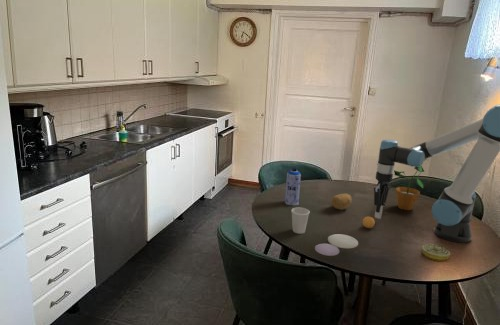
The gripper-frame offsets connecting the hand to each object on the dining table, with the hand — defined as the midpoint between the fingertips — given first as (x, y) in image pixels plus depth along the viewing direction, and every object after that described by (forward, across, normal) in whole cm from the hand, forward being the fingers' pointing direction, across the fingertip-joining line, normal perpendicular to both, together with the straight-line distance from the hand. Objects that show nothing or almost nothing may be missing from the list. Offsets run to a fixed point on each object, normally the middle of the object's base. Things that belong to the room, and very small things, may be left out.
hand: (377, 217), depth 183 cm
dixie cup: (+3, +38, -19) cm, 43 cm away
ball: (0, +10, 0) cm, 10 cm away
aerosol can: (+3, +14, -44) cm, 46 cm away
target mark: (+3, +32, 0) cm, 32 cm away
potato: (+3, -2, -22) cm, 22 cm away
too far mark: (+3, +44, 0) cm, 44 cm away
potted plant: (+3, -32, 0) cm, 32 cm away
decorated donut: (+3, +12, +32) cm, 35 cm away
